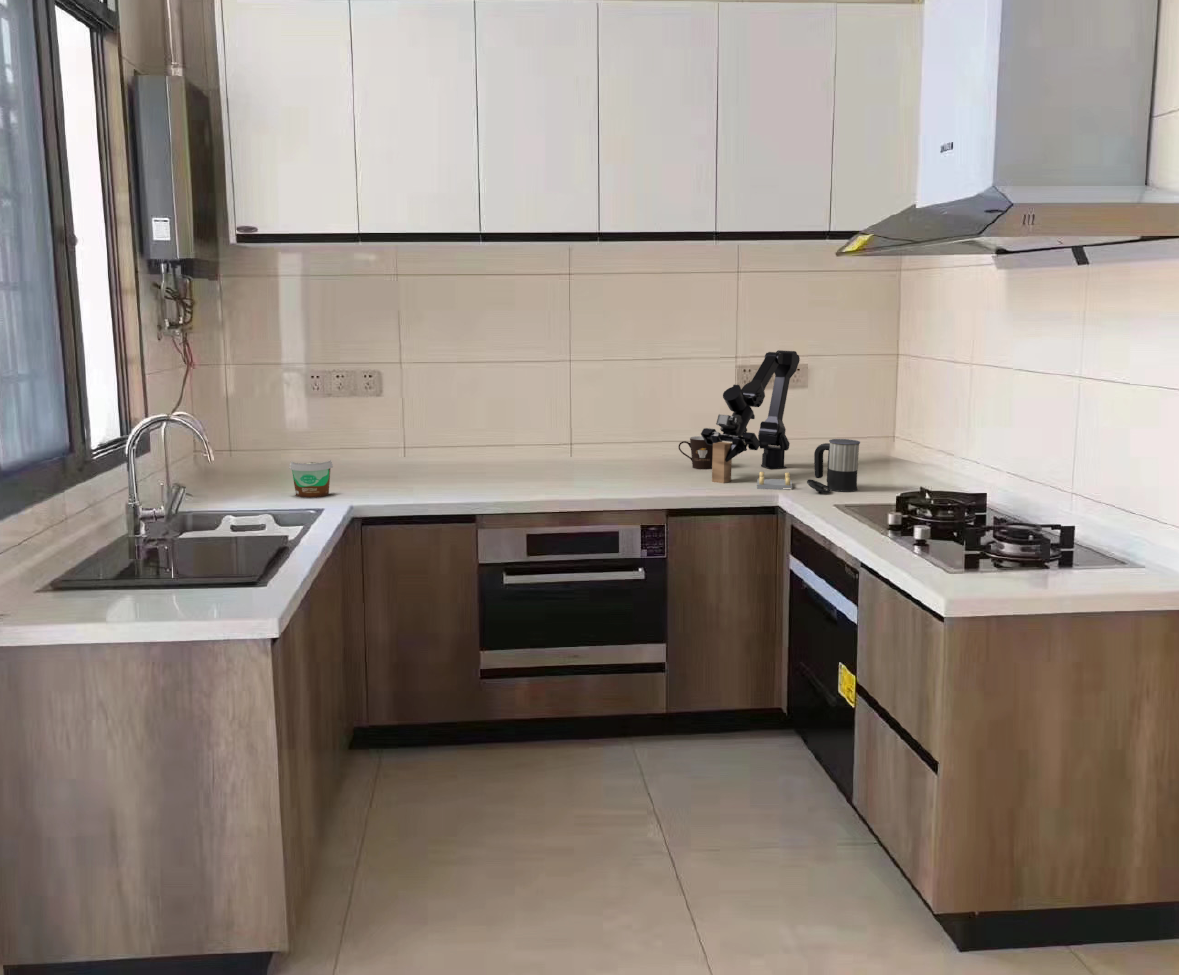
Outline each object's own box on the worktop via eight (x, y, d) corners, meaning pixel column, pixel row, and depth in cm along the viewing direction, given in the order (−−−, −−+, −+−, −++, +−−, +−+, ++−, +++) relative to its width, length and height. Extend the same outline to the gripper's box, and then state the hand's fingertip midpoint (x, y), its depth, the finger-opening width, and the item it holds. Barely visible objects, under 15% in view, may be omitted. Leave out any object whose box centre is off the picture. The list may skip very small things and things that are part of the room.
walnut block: (719, 479, 354) (720, 441, 351) (731, 481, 351) (732, 443, 349) (711, 481, 350) (712, 443, 348) (723, 483, 348) (724, 444, 345)
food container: (291, 499, 320) (289, 464, 318) (290, 495, 326) (288, 461, 324) (335, 497, 323) (334, 462, 321) (334, 493, 329) (332, 459, 327)
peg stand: (757, 482, 349) (757, 471, 348) (791, 483, 348) (791, 472, 347) (757, 488, 339) (757, 477, 338) (792, 489, 337) (792, 478, 337)
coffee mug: (719, 467, 376) (720, 437, 375) (708, 470, 369) (708, 440, 367) (688, 463, 383) (689, 434, 381) (676, 467, 375) (677, 437, 374)
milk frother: (859, 487, 341) (862, 439, 338) (853, 497, 327) (855, 446, 324) (812, 484, 346) (814, 437, 343) (804, 494, 331) (806, 444, 329)
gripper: (704, 402, 355) (684, 441, 348) (756, 407, 344) (736, 447, 337) (717, 424, 362) (697, 463, 356) (768, 429, 351) (749, 469, 345)
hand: (719, 460), depth 348 cm, fingers closed on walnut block, 4 cm apart
